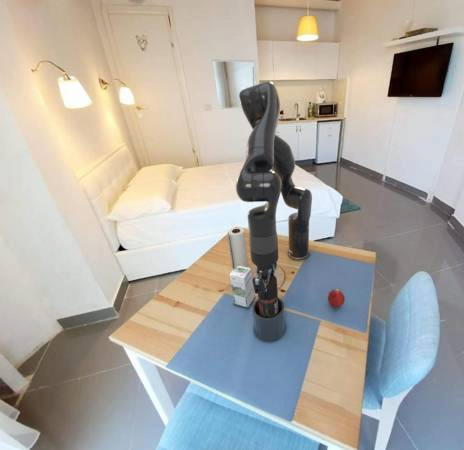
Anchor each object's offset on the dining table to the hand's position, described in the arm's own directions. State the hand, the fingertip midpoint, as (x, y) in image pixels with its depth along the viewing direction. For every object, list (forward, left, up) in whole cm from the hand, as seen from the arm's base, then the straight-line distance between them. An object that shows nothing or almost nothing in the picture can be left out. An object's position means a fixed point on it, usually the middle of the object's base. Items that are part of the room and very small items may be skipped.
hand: (267, 291), depth 75 cm
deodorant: (0, 0, -11) cm, 11 cm away
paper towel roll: (-23, -21, -16) cm, 35 cm away
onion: (-15, +20, -16) cm, 30 cm away
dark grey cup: (0, 0, -16) cm, 16 cm away
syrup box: (-9, -13, -16) cm, 23 cm away
